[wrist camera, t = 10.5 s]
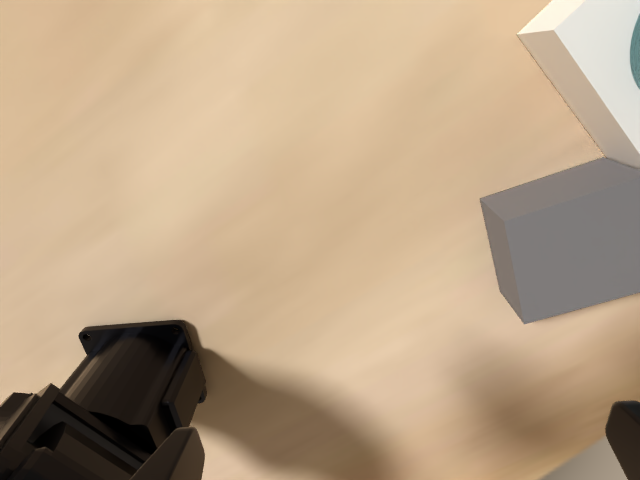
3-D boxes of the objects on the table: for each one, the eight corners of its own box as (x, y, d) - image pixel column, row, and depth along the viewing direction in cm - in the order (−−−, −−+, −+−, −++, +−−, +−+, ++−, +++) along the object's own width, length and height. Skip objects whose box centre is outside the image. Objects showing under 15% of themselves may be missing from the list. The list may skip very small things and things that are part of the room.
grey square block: (500, 291, 22) (524, 324, 19) (479, 198, 20) (504, 221, 17) (610, 259, 21) (652, 288, 18) (603, 157, 19) (650, 174, 16)
